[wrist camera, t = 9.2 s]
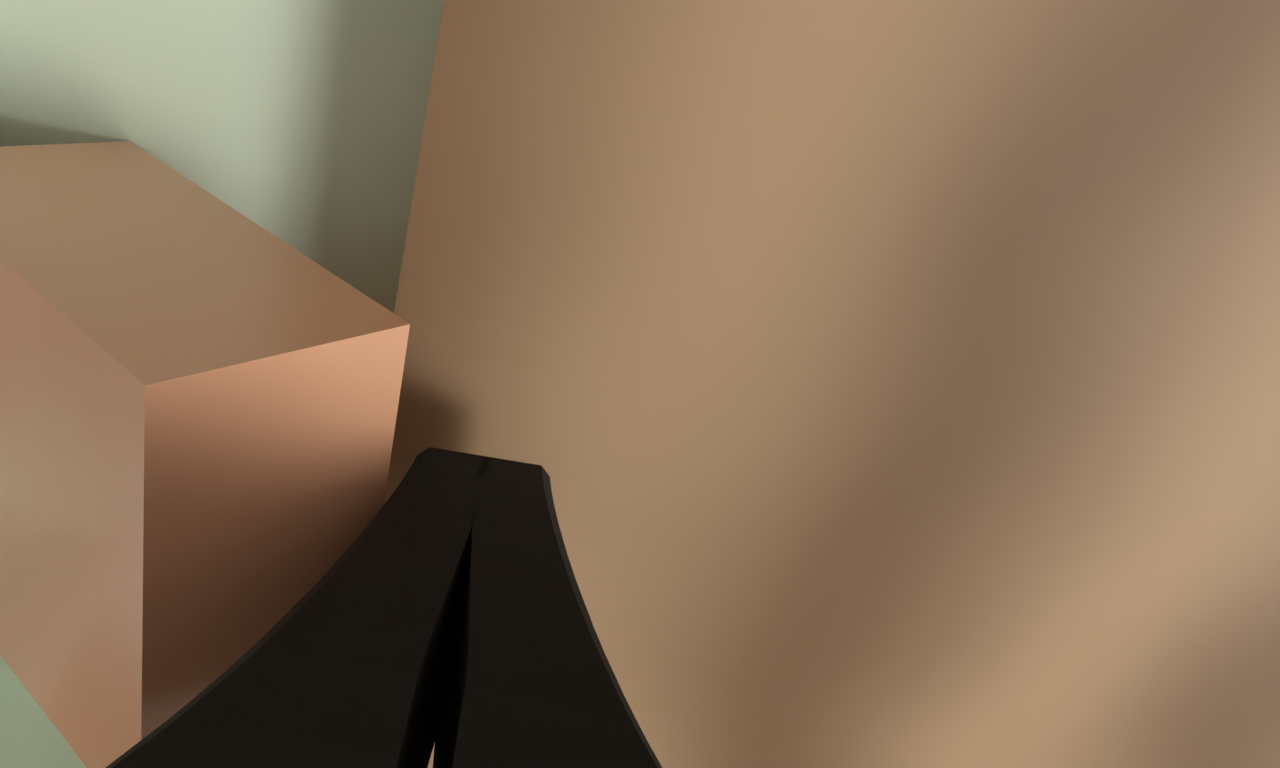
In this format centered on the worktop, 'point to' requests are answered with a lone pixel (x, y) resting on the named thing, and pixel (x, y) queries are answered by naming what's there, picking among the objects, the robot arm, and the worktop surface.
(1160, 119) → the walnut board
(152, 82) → the tray
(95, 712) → the terracotta tile
